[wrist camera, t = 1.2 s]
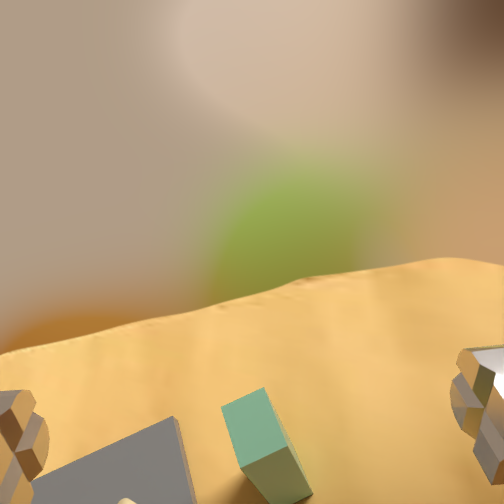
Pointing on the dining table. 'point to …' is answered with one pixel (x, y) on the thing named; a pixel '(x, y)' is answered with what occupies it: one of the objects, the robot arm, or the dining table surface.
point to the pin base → (125, 472)
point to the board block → (265, 449)
